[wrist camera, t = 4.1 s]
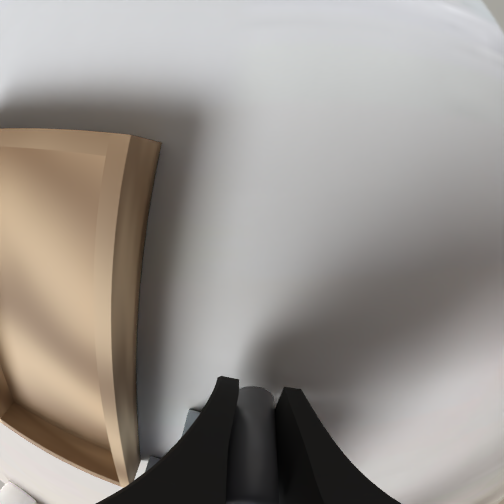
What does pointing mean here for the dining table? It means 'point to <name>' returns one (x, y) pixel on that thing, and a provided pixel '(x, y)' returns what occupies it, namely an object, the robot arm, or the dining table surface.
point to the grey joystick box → (251, 449)
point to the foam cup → (14, 495)
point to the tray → (73, 292)
